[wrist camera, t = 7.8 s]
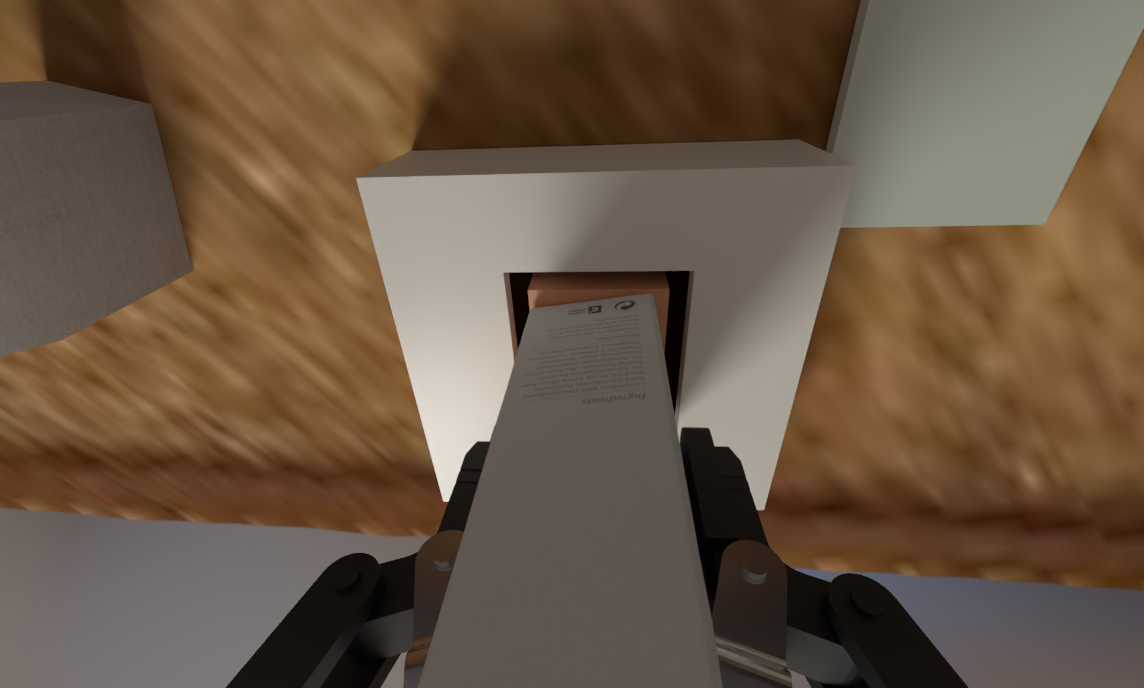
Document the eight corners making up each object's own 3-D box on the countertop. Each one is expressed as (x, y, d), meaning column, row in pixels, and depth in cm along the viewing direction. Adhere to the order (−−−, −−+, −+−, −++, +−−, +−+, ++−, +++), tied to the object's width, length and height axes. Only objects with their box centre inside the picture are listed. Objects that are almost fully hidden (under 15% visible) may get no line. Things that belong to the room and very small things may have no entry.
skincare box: (525, 305, 16) (374, 773, 5) (653, 287, 15) (753, 781, 5) (560, 439, 19) (506, 897, 9) (668, 429, 18) (746, 910, 8)
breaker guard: (798, 139, 16) (857, 165, 13) (738, 436, 24) (764, 510, 20) (410, 150, 17) (355, 177, 14) (468, 432, 25) (443, 501, 21)
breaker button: (658, 247, 18) (669, 289, 15) (649, 383, 22) (657, 441, 18) (541, 249, 19) (527, 290, 15) (551, 382, 22) (541, 439, 19)
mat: (1169, -64, 13) (1192, -68, 13) (1031, 219, 17) (1044, 224, 17) (871, -46, 14) (881, -50, 13) (808, 223, 18) (814, 228, 17)
